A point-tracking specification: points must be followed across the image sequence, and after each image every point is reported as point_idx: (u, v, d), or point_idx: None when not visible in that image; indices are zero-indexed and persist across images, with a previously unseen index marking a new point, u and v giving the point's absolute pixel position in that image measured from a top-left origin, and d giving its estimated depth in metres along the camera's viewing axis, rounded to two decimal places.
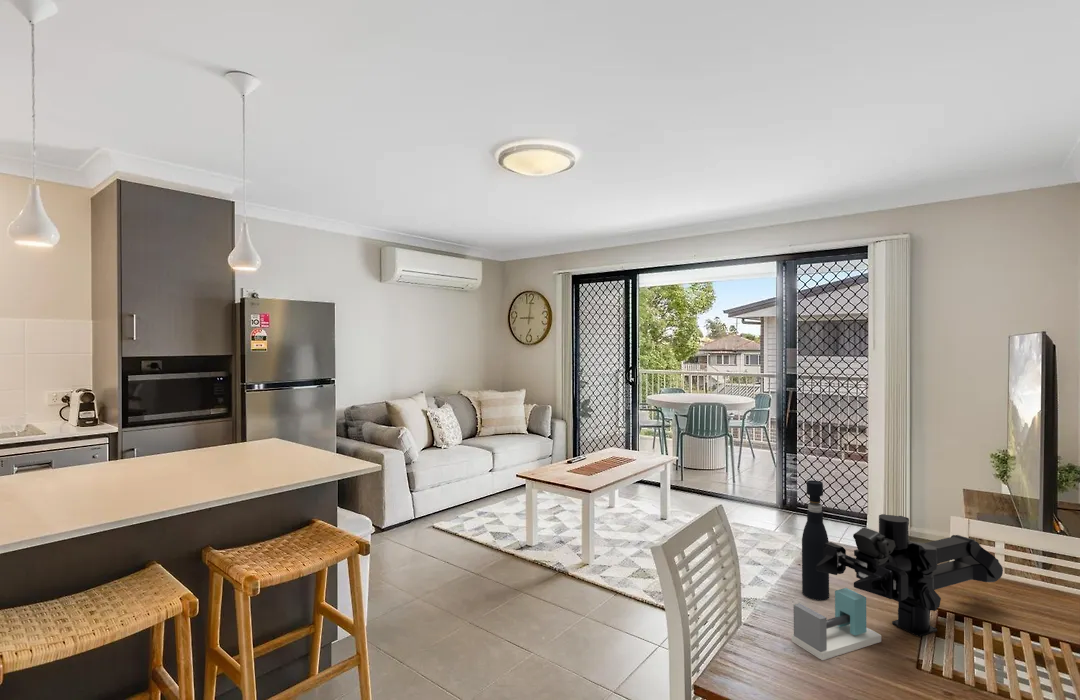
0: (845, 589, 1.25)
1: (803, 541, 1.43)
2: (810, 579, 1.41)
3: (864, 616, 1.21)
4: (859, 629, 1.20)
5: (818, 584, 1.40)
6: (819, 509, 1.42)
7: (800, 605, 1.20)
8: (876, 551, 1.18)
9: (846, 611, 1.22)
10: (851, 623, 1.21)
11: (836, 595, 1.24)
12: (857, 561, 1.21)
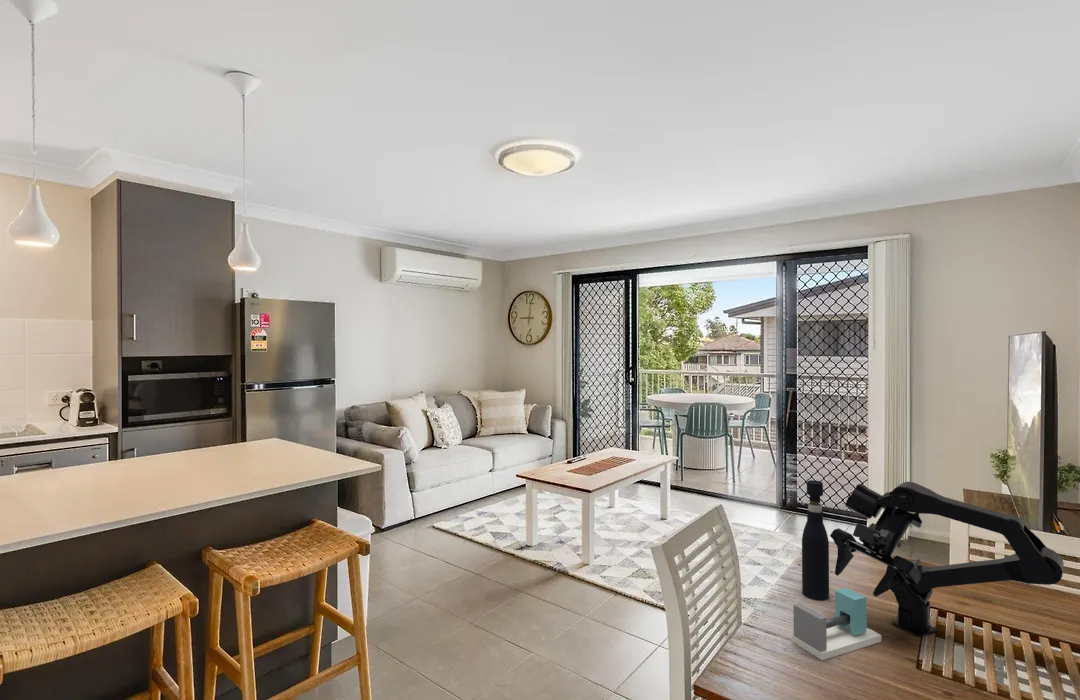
0: (845, 589, 1.25)
1: (803, 541, 1.43)
2: (810, 579, 1.41)
3: (864, 616, 1.21)
4: (859, 629, 1.20)
5: (818, 584, 1.40)
6: (819, 509, 1.42)
7: (800, 605, 1.20)
8: (878, 544, 1.23)
9: (846, 611, 1.22)
10: (851, 623, 1.21)
11: (836, 595, 1.24)
12: (865, 549, 1.27)
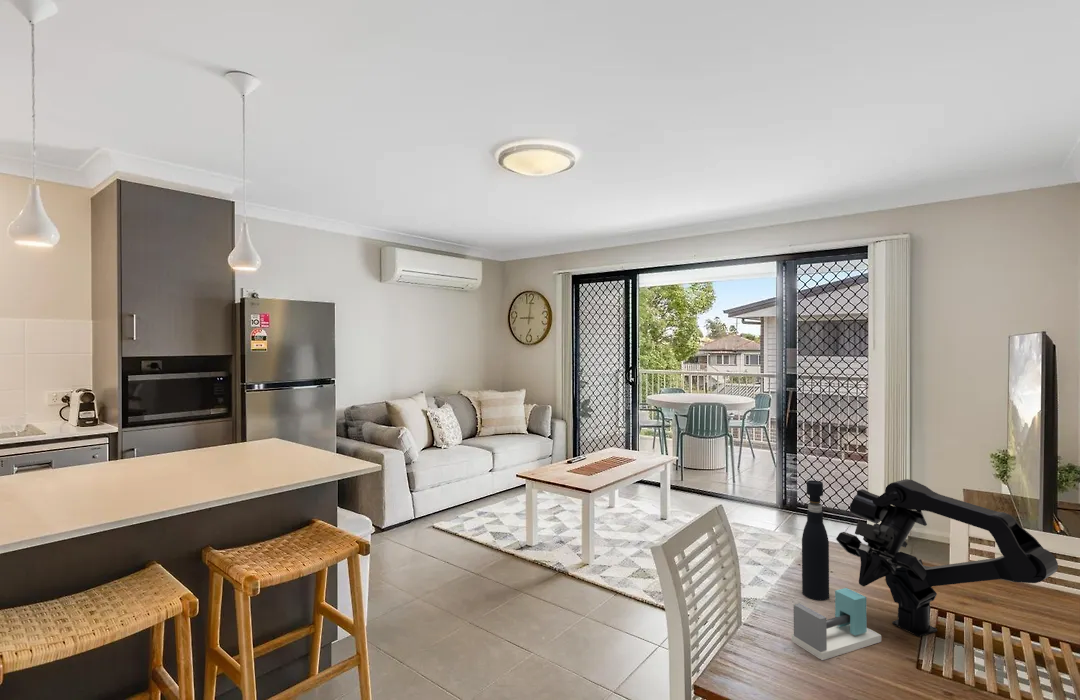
0: (845, 589, 1.25)
1: (803, 541, 1.43)
2: (810, 579, 1.41)
3: (864, 616, 1.21)
4: (859, 629, 1.20)
5: (818, 584, 1.40)
6: (819, 509, 1.42)
7: (800, 605, 1.20)
8: (881, 541, 1.23)
9: (846, 611, 1.22)
10: (851, 623, 1.21)
11: (836, 595, 1.24)
12: (870, 549, 1.27)
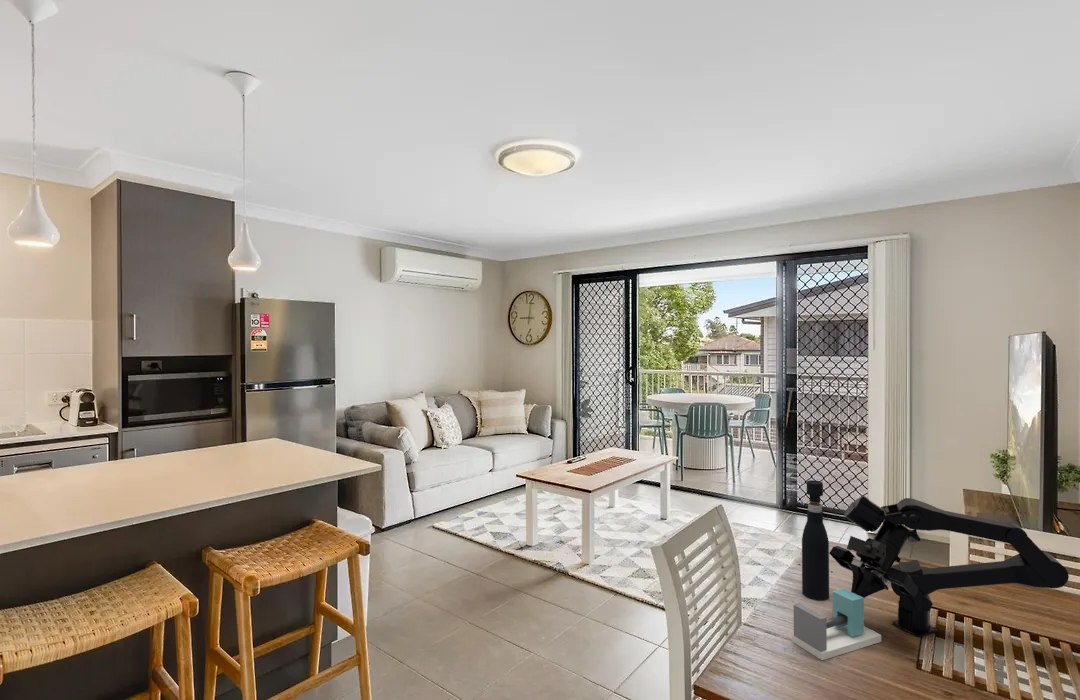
0: (843, 590, 1.24)
1: (803, 541, 1.43)
2: (810, 579, 1.41)
3: (862, 617, 1.21)
4: (856, 630, 1.20)
5: (818, 584, 1.40)
6: (819, 509, 1.42)
7: (800, 605, 1.20)
8: (872, 557, 1.22)
9: (843, 612, 1.21)
10: (848, 624, 1.20)
11: (834, 596, 1.24)
12: (863, 564, 1.26)
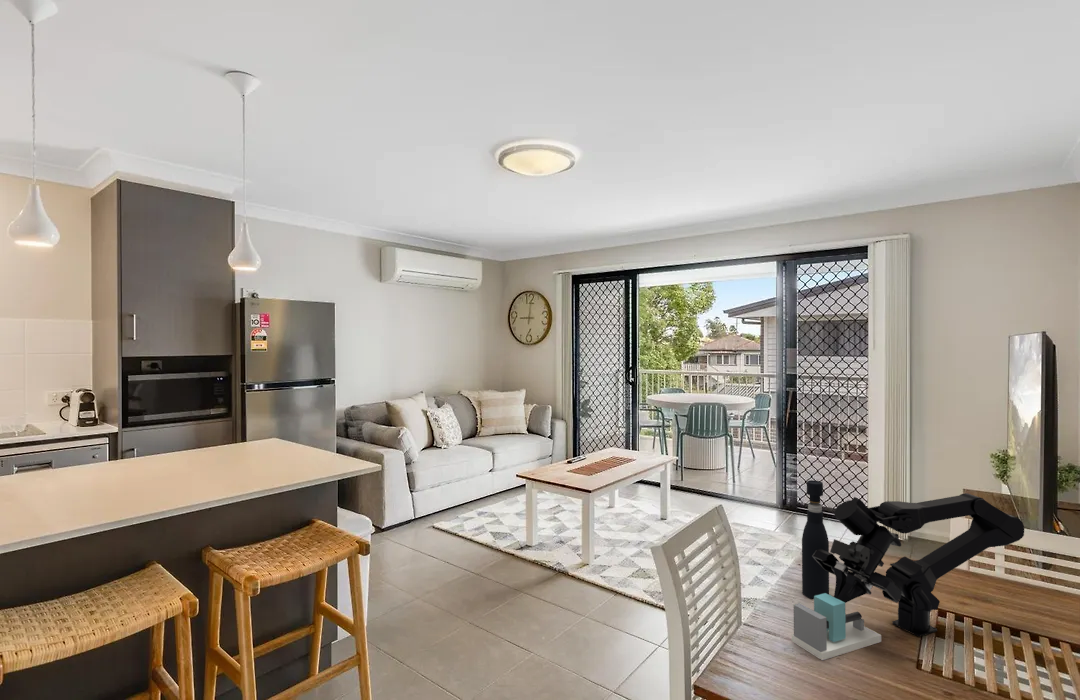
0: (825, 595, 1.22)
1: (803, 541, 1.43)
2: (810, 579, 1.41)
3: (843, 622, 1.18)
4: (838, 635, 1.18)
5: (818, 584, 1.40)
6: (819, 509, 1.42)
7: (800, 605, 1.20)
8: (856, 561, 1.20)
9: None
10: (830, 629, 1.18)
11: (815, 600, 1.22)
12: (846, 568, 1.24)
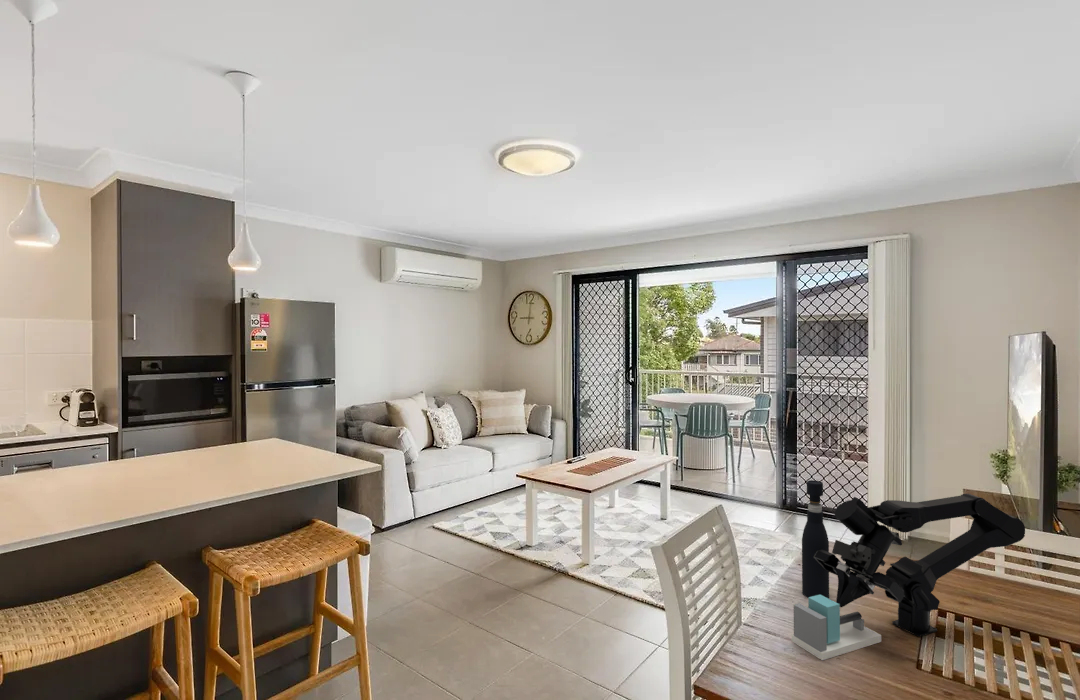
0: (819, 596, 1.22)
1: (803, 541, 1.43)
2: (810, 579, 1.41)
3: (837, 624, 1.18)
4: (832, 637, 1.17)
5: (818, 584, 1.40)
6: (819, 509, 1.42)
7: (800, 605, 1.20)
8: (858, 561, 1.20)
9: None
10: None
11: (809, 602, 1.21)
12: (848, 568, 1.24)
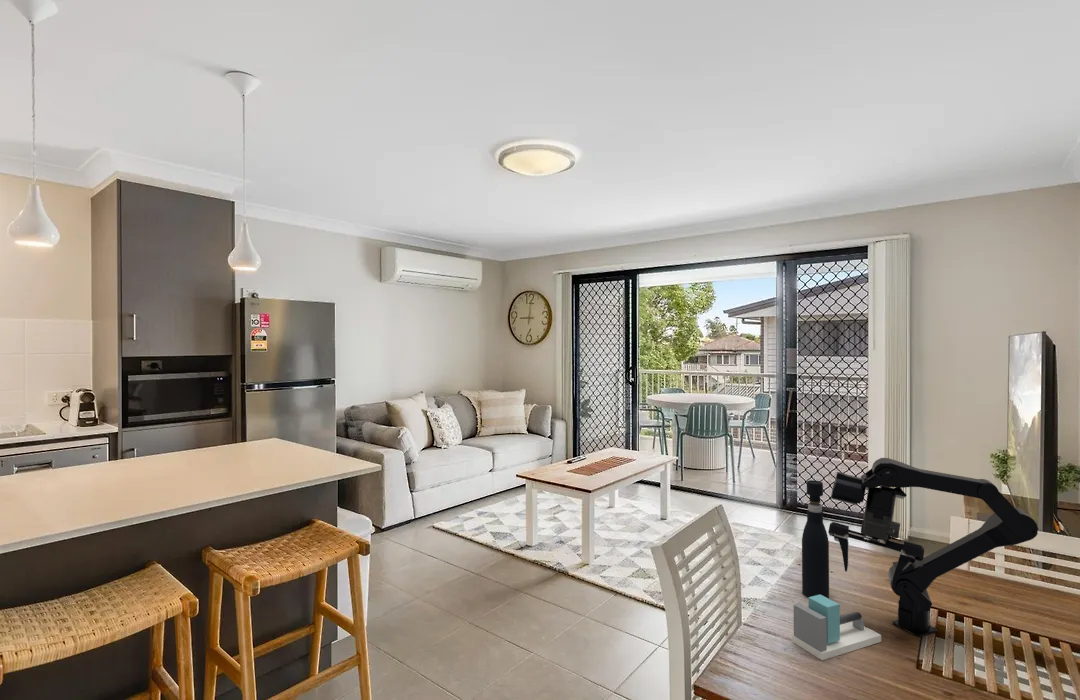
0: (819, 596, 1.22)
1: (803, 541, 1.43)
2: (810, 579, 1.41)
3: (837, 624, 1.18)
4: (832, 637, 1.17)
5: (818, 584, 1.40)
6: (819, 509, 1.42)
7: (800, 605, 1.20)
8: None
9: None
10: None
11: (809, 602, 1.21)
12: (868, 538, 1.26)
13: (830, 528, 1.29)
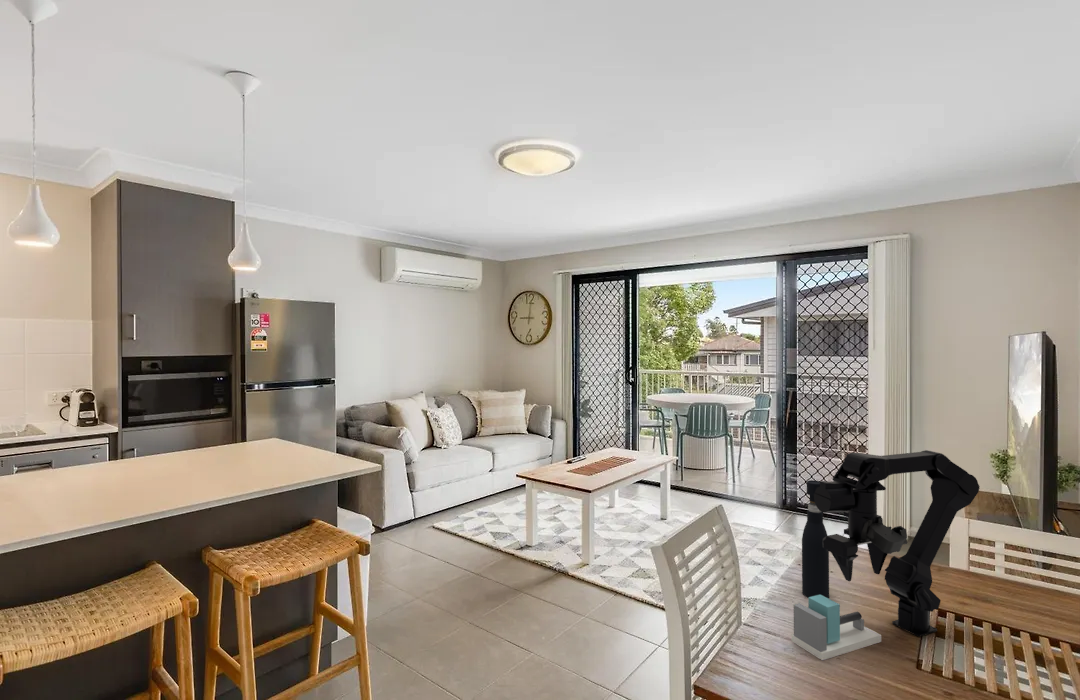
0: (819, 596, 1.22)
1: (803, 541, 1.43)
2: (810, 579, 1.41)
3: (837, 624, 1.18)
4: (832, 637, 1.17)
5: (818, 584, 1.40)
6: None
7: (800, 605, 1.20)
8: None
9: None
10: None
11: (809, 602, 1.21)
12: None
13: (845, 551, 1.18)
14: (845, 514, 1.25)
